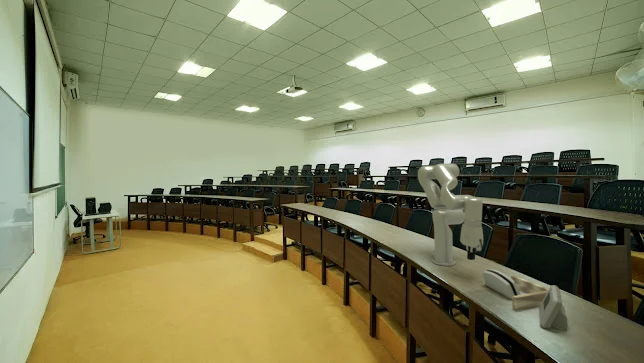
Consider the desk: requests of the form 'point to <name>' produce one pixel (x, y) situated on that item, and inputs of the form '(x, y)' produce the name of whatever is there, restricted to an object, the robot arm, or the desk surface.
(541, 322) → the digital clock
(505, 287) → the white pencil case
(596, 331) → the desk surface
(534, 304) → the wooden corner wall
